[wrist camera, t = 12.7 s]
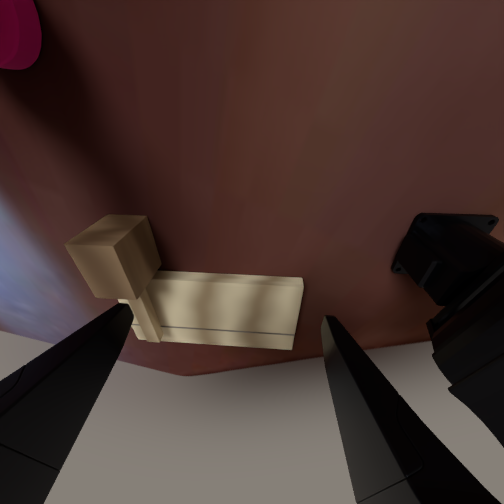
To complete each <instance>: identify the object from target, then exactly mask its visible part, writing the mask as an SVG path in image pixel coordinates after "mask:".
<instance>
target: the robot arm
mask: <svg viewBox="0 0 504 504" xmlns="http://www.w3.org/2000/svg"><path fill="white" fill-rule="evenodd" d="M422 218H424V219H423V220H421V219H422ZM420 220H421V221H420ZM490 220H491V221H490ZM489 221H490V222H489ZM498 221H499V219H498V217H495V216H493V215H476V214H443V213H420V214H418V215H417V216H416V217H415V219H414V221H413V223H412V225H411V227H410V229H409V232H408V234H407V236H406V237H405V239H404V241H403V243H402V245H401V247H400V249H399V251H398V253H397V256H396V258H395V261H394V263H393V265H392V267H391V269H392V271H393V272H394V273H401V274H409V275H410V277H411V278H412V279H413V280H414V282H415V283H416V284H417V285H418V286H419V287H420V288H424V290H425V291H426V292H427V293H428V294H429V296H430V297H431V298H432V299H433V300H434V302H435V303H436V304H437V305H439V306H445V307H444V308H443V309H442V310H441V311H440V312H439V313H438V314H437V315H436V316H435V317H434V318H433V319H430V320H429V321H428V322H427V323H426V325H427V328H428V331H429V334H430V337H431V341H432V345H433V349H434V353H433V354H432V357H433V359H434V361H435V363H436V364H437V366H438V368H439V369H440V371H441V372H442V373H443V375H444V376H445V377H446V378H447V380H448V381H449V382H450V383H451V384H452V386H450V387H449V388H448V390H449V391H450V393H451V394H453V395H454V396H455V397H456V398H458V399H459V400H460V401H461V402H463V403H464V404H465V405H466V406H467V407H468V408H469V409H471V411H472V412H473V413H474V414H475V415H476V416H477V417H478V418H479V419H480V420H481V421H482V422H483V423H484V424H485V425H486V426H487V427H488V428H489V430H490V431H491V432H492V433H493V434H494V436H495V437H496V438H497V440H498V441H499V442H500V443H501V445H502V446H503V447H504V243H503V242H501V241H499V240H498V239H496V238H494V237H493V236H491V235H489V234H490V232H491V231H492V230H493V228H494V227H495V226H496V224H497V223H498ZM397 268H398V269H397ZM133 320H134V314H133V311H132V309H131V307H130V305H129V304H127V303H118V304H116V305H115V306H113V307H112V308H110V309H109V310H107V311H106V312H104V313H103V314H101V315H100V316H98V317H97V318H95V319H94V320H92V321H91V322H89V323H88V324H86V325H85V326H83V327H82V328H80V329H78V330H77V331H75V332H74V333H72V334H71V335H69V336H68V337H66V338H65V339H63V340H62V341H60V342H59V343H57V344H56V345H54V346H53V347H51V348H50V349H48V350H47V351H45V352H44V353H42V354H41V355H39V356H38V357H36V358H35V359H33V360H32V361H30V362H29V363H27V364H26V365H24V366H22V367H21V368H20V369H18V370H16V371H15V372H13V373H12V374H10V375H9V376H8V377H6V378H4V379H2V380H1V381H0V504H44V502H45V500H46V498H47V496H48V494H49V492H50V490H51V488H52V486H53V484H54V482H55V480H56V478H57V476H58V474H59V472H60V470H61V468H62V466H63V464H64V462H65V460H66V458H67V456H68V455H69V453H70V451H71V449H72V447H73V445H74V443H75V441H76V439H77V437H78V435H79V433H80V431H81V429H82V427H83V425H84V423H85V421H86V419H87V417H88V415H89V413H90V411H91V409H92V407H93V406H94V403H95V402H96V400H97V398H98V396H99V394H100V392H101V390H102V388H103V386H104V384H105V382H106V380H107V378H108V376H109V374H110V372H111V370H112V368H113V366H114V364H115V362H116V360H117V359H118V357H119V354H120V352H121V350H122V348H123V346H124V343H125V340H126V338H127V335H128V333H129V330H130V328H131V325H132V323H133ZM321 337H322V345H323V354H324V362H325V368H326V373H327V378H328V382H329V386H330V391H331V395H332V399H333V404H334V407H335V412H336V417H337V421H338V425H339V430H340V434H341V438H342V442H343V447H344V452H345V456H346V460H347V465H348V469H349V473H350V478H351V482H352V486H353V491H354V495H355V500H356V503H357V504H501V503H500V502H499V501H498V500H497V499H496V498H495V497H494V496H493V495H492V494H491V493H490V492H489V491H488V490H487V489H486V488H484V486H483V485H482V484H481V483H480V482H479V481H478V480H477V479H476V478H475V477H474V476H473V475H472V474H471V473H470V472H469V471H468V470H467V468H466V467H465V466H464V465H463V464H462V463H461V462H460V461H459V460H458V459H457V458H456V457H455V456H454V455H453V454H452V453H451V452H450V450H449V449H448V448H447V447H446V446H445V445H444V444H443V443H442V442H441V441H440V440H439V439H438V438H437V437H436V436H435V435H434V433H433V432H432V431H431V430H430V429H429V428H428V427H427V426H426V425H425V424H424V423H423V421H421V419H420V418H419V417H418V416H417V414H416V413H415V412H414V411H413V410H412V409H411V407H410V406H409V405H408V404H407V403H406V402H405V400H404V399H403V398H402V397H401V395H399V394H398V392H397V391H396V389H394V387H393V386H392V385H391V384H390V382H389V381H388V380H387V379H386V378H385V376H384V375H383V374H382V373H381V371H380V370H379V369H378V368H377V367H376V366H375V364H374V363H373V362H372V360H371V359H370V358H369V357H368V356H367V354H366V353H365V352H364V351H363V350H362V348H361V347H360V346H359V345H358V344H357V342H356V341H355V340H354V339H353V338H352V336H351V335H350V334H349V333H348V331H347V330H346V329H345V328H344V327H343V325H342V324H341V323H340V322H339V321H338V319H337V318H336V317H335V316H331V315H325V316H324V319H323V322H322V325H321Z"/></svg>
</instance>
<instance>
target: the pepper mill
mask: <svg viewBox="0 0 504 504" xmlns="http://www.w3.org/2000/svg"><path fill="white" fill-rule="evenodd" d="M41 40H42V33H41V27H40V22H39V16H38V12H37V10H36V7H35V4H34V2H33V0H0V68H4V69H12V70H22V69H26V68H28V67H30V66H31V65H32V64H33V63H34V62H35V61H36V60H37V58H38V56H39V53H40V49H41Z"/></svg>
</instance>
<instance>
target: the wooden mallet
mask: <svg viewBox="0 0 504 504" xmlns="http://www.w3.org/2000/svg"><path fill="white" fill-rule="evenodd" d="M64 245H65V247H66V249H67V250H68V252H69V254H70V255H71V257H72V259H73V260H74V262H75V264H76V265H77V267H78V269H79V270H80V272H81V274H82V275H83V277H84V279H85V280H86V282H87V284H88V285H89V287H90V289H91V290H92V292H93V294H94V295H95V297H96V298H108V299H125V300H128V302H129V304H130V306H131V308H132V310H133V312H134V314H135V316H136V319H137V321H138V323H139V325H140V327H141V329H142V331H143V333H144V335H145V337H146V339H147V341H148V342H160V341H161V339H162V336H163V331H162V329H161V326H160V324H159V321H158V319H157V316H156V313H155V311H154V308H153V306H152V303H151V301H150V298H149V296H148V293H147V291H146V286H147V285H148V283H149V282H150V280H151V279H152V278H153V276H154V275H155V273H156V272H157V270H158V269H159V267H160V266H161V264H162V263H161V260H160V257H159V253H158V250H157V247H156V244H155V240H154V237H153V234H152V230H151V227H150V224H149V221H148V217H147V216H141V215H112V214H108V215H106V216H105V217H103V218H102V219H100V220H99V221H97V222H96V223H94V224H93V225H91V226H90V227H88V228H87V229H86V230H84V231H83V232H81V233H80V234H78V235H77V236H75V237H74V238H72V239H71V240H69V241H68V242H66V243H65V244H64Z"/></svg>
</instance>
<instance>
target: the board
mask: <svg viewBox="0 0 504 504" xmlns="http://www.w3.org/2000/svg"><path fill="white" fill-rule="evenodd" d="M303 289H304V285H303V279H302V278H298V277H278V276H258V275H237V274H217V273H197V272H177V271H157V272H156V273H155V275H154V276H153V278H152V279H151V280H150V282H149V283H148V285H147V286H146V291H147V293H148V296H149V298H150V301H151V303H152V306H153V308H154V311H155V313H156V316H157V319H158V321H159V324H160V326H161V329H162V331H163V336H162V339H161V341H170V342H184V343H198V344H213V345H227V346H241V347H255V348H270V349H284V350H292V346H293V341H294V336H295V330H296V325H297V320H298V315H299V310H300V305H301V299H302V294H303ZM118 301H119V303H127V304H129V302H128V300H125V299H118ZM129 305H130V304H129ZM130 307H131V306H130ZM131 309H132V308H131ZM132 311H133V310H132ZM133 314H134V312H133ZM131 326H132V328H133V330H134V332H135V333H136V335H137V337H138V339H141V340H147V339H146V337H145V335H144V333H143V331H142V329H141V327H140V325H139V323H138V321H137V319H136V316H135V314H134V320H133V323H132V325H131Z"/></svg>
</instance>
